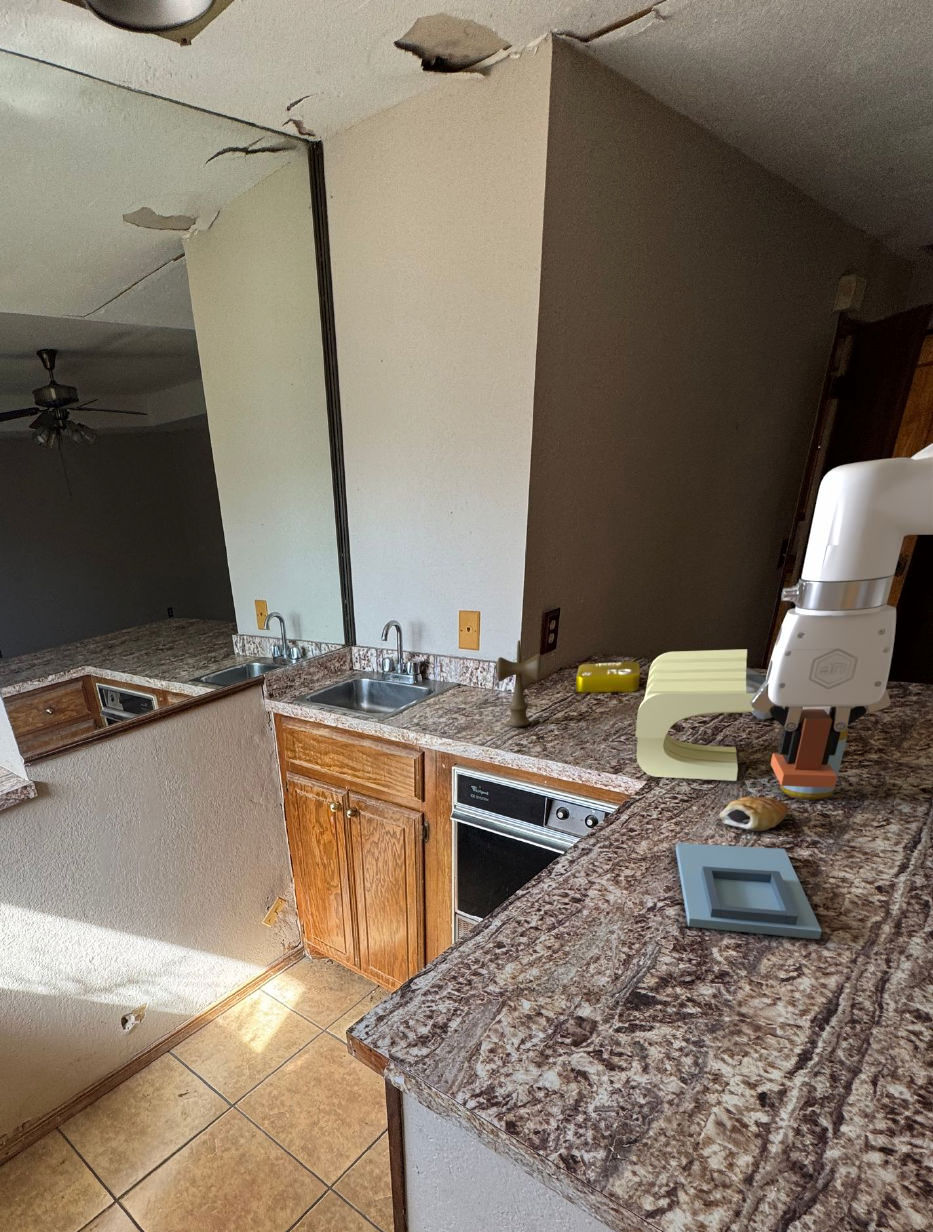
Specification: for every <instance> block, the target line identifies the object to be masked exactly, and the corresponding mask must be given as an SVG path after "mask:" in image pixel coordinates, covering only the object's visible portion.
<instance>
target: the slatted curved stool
mask: <svg viewBox="0 0 933 1232" xmlns="http://www.w3.org/2000/svg"><path fill="white" fill-rule="evenodd" d="M747 659H748V649H714V650H711V649H710V650H686V651H684V650H683V651H668V652H664V653H662V654H660V655H658V656H657V657H656V658H655V659H653V661H652V663H651V664H650V666H649V670H648V677H647V682H646V687H645V693H644V699H643V700H642V701H641V703H640V705H639V707H638V710H637V714H636V715H637V716H636V724H635V735H634V736H635V738H637V745H636V763H637V764H638V766H639V768H640V769H641V770H642V771H643V772H644V773H646V774H647V775H649V776H651V777H655V778H672V779H673V778H674V779H690V780H691V779H694V780H709V781H711V780H712V781H713V780H714V781H731V782H736V781H737V779H738V772H739V766H738V757H737V749H736V748H737V747H736V746H719V745H704V744H697V743H696V744H695V743H690V742H685V741H681V740H677V739H675V738H673V737H672V736H670V734H669V731H670V729H671V728H672V727H673V726H674V725H675V724H676V723H678V722H680V721H682V720H684V719H688V718H692V717H697V716H704V715H714V714H737V713H738V714H739V713H740V714H742V713H743V714H745V713H751V712H752V711H754V708H753V707H752V706H751V704H750V701H751V699H752V698H753V697H754V695H755V694H756V693H746V667H747V662H748V661H747Z"/></svg>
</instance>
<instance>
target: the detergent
mask: <svg viewBox="0 0 933 1232" xmlns="http://www.w3.org/2000/svg"><path fill="white" fill-rule="evenodd" d="M765 680H766V676H764V675H763V674H762V673H761V672H759V671H757V670H756V669H753V668H751V667H747V666H746V693H757V691H758V690H759V689H760V687H761V686H762V685H763V683H764V682H765ZM769 700H770V699H769ZM770 701H771V700H770ZM782 707H783V708H784V706H782ZM750 713H751V715H753V716H755V718H757V719H760V720H762V721H763V720H764V721H765V720H769V719H771V718H774V717H773V716H772V715H770V714H766V713H764V712H761V711H759V710H757V709H754V711H752V712H750Z"/></svg>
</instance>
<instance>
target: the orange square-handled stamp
mask: <svg viewBox="0 0 933 1232" xmlns="http://www.w3.org/2000/svg"><path fill="white" fill-rule="evenodd" d="M831 723H832V719H831V718H830V716H829V715H828V714H827V713H826V712H825V710H824V709H802V713H801V716H800V720H799V725H800V726H799V730H800V731H801V738H800V742H799V747H798V751H797V756H796V760H795V763H793V764H787V763H786V761H785V759H784V757H783V755H780V754H779V752H778V753H777V752H776V753H775V752H774V753H772V755H771V761H770V765H771V768H772V770H773V772H774V774H775V776H776V778H777V780H778V783H779V785H781V786H799V787H827V788H834V787H835V788H836V785H835V783H836V784H837V781H836V779H837V780H838V777H837V775H836V773H835V772H834V770H833V769H832V767H831V766H830V764H829V763H828V764H827V765H821V764H822V760H823V756H824V752H825V748H826V744H827V739H828V735H829V731H830V727H831Z"/></svg>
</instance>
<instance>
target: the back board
mask: <svg viewBox="0 0 933 1232" xmlns="http://www.w3.org/2000/svg"><path fill="white" fill-rule="evenodd" d="M675 854H676V860H677V866H678V872H679V878H680V879H679V880H680V884H681V891H682V896H683V904H684V910H685V915H686V922H687V927H689V928H700V929H709V930H720V931H729V932H740V933H750V934H759V935H770V936H771V935H772V936H780V937H792V938H801V939H812V940H820V939H821V936H822V932H823V931H822V928H821V926H820V923H819V922H818V919H817V917H816V915H815V913H814V911H813V909H812V906H811V904H810V901H809V900H808V897H807V895H806V892H805V891H804V888H803V886H802V884H801V882H800V880H799V877H798V875H797V873H796V870H795V869H794V866H793V863H792V862H791V859H790V858H789V855H788V853H787V851H786V849H785V848H775V847H757V846H740V845H738V846H737V845H721V844H720V845H719V844H701V843H682V842H676V845H675Z"/></svg>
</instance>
